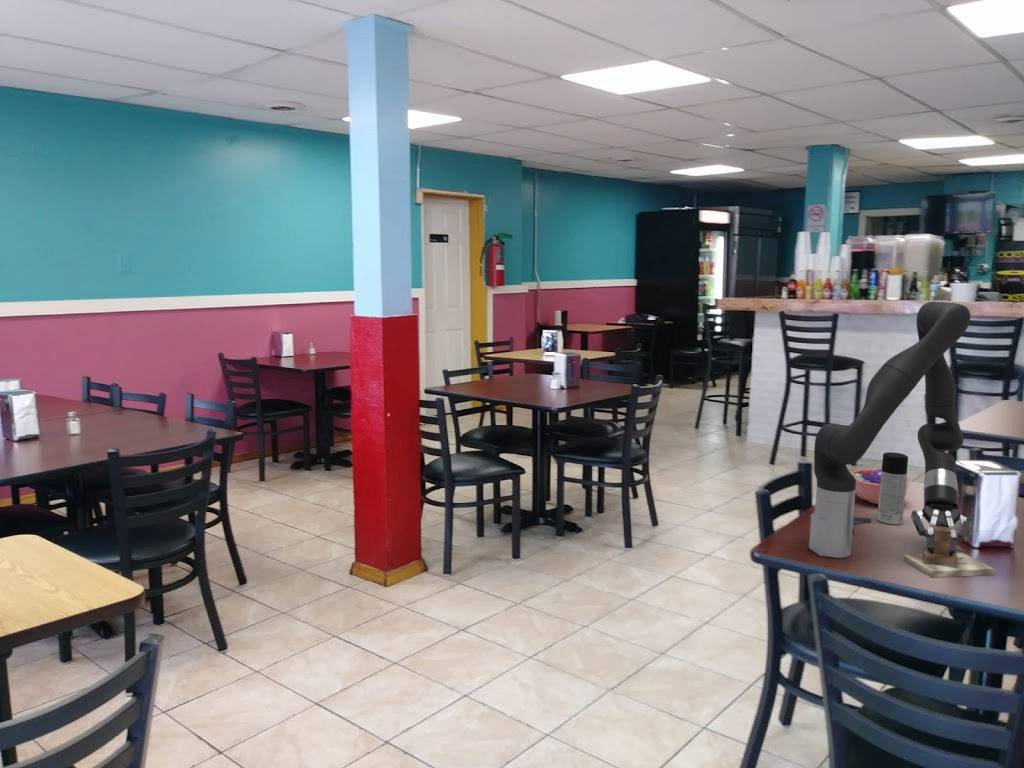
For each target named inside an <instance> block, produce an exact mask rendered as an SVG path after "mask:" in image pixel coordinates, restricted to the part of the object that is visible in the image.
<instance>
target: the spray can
mask: <svg viewBox="0 0 1024 768" xmlns="http://www.w3.org/2000/svg"><path fill="white" fill-rule="evenodd" d="M908 463H909V456H907V454H904V453H901V452H889V451H888V452H884V453H883V454H882V461H881V468H880V469H881V482H880V493H879V504H878V507H877V521H878V522H879V523H882V524H886V525H894V526H895V525H896V526H897V525H901V524H902V523H903V520H904V510H905V498H906V496H905V488H906V478H907V476H908V466H909V464H908Z"/></svg>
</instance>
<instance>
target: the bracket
mask: <svg viewBox="0 0 1024 768" xmlns="http://www.w3.org/2000/svg"><path fill="white" fill-rule="evenodd" d="M871 523H872V518H871V517H859V516H858V517H857V516H854V517H853V526H857V525H860V524H871ZM854 529H855V528H854V527H853V531H852V536H854V534H855V530H854Z"/></svg>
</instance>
